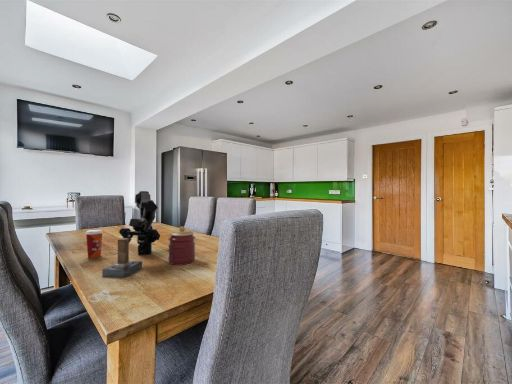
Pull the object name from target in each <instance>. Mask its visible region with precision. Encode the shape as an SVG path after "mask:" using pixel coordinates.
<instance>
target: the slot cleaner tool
mask: <svg viewBox="0 0 512 384" xmlns="http://www.w3.org/2000/svg"><path fill="white" fill-rule="evenodd" d="M129 244H130V242H129V238H123V237H122V238H118V239H117V262H116V263H117V264H115V263H114V264H115V265H114V268H125V267H127V266H129V265H132V261H133V260H130V258H129V257H130V255H129V254H130V251H129V250H130V248H129V247H130V246H129Z"/></svg>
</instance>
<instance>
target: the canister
mask: <svg viewBox="0 0 512 384" xmlns="http://www.w3.org/2000/svg"><path fill="white" fill-rule="evenodd" d="M169 235H170V237H168V241H169V244H168V263H169V264H170V265H171V264H172V265H174V266H175V265H177V266H178V265H181V266H182V265H187V264H192V263H194V262H195V260H196V254H195V253H196V243H195V239H196V236H194V232H193V231H192V230H191V229H186V228H185V226H183V225H182V226H180V227H179V229H176V230H173V231H172V232H171V233H170V234H169Z"/></svg>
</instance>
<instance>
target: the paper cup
mask: <svg viewBox="0 0 512 384" xmlns="http://www.w3.org/2000/svg"><path fill="white" fill-rule="evenodd" d="M103 233H104V232H103V229H89V230H86V232H85V235H86V248H87V250H86V251H87V258H88V259H96V258H100V257H101V256H102V255H101V254H102V242H103Z"/></svg>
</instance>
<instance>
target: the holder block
mask: <svg viewBox="0 0 512 384" xmlns="http://www.w3.org/2000/svg"><path fill="white" fill-rule="evenodd" d="M131 261H132V265H129V266H127V267H125V268H114V265H115V264H117V263H118V262H116V263H113V264H110V265H107V266H106V267H104V268H102V270H101V271H102V273H101V274H102V277H107V278H108V277H109V278H110V277H111V278H126V277H129V276H130V275H132V274H133V273H136V272H138V271H139V270H141V269H143V261H138V260H131Z"/></svg>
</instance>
